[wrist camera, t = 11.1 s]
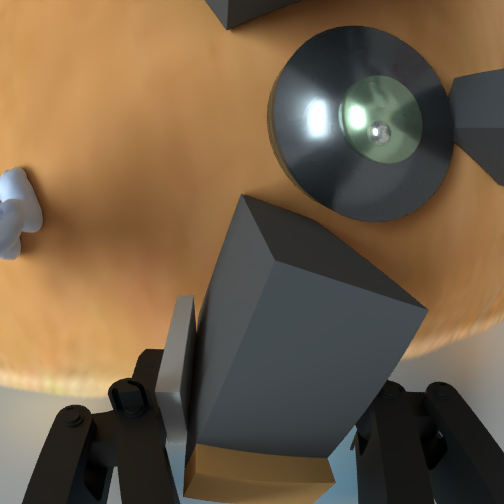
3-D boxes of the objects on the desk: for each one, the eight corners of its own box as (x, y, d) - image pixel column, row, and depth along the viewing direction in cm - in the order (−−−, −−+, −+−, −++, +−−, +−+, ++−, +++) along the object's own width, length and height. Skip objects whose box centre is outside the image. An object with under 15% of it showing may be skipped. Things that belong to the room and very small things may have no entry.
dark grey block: (241, 193, 15) (285, 281, 5) (314, 220, 16) (452, 330, 6) (198, 315, 17) (183, 497, 6) (265, 334, 18) (310, 506, 7)
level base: (379, 22, 13) (412, 0, 9) (448, 166, 16) (489, 172, 12) (230, 83, 14) (233, 62, 10) (323, 244, 17) (348, 268, 13)
